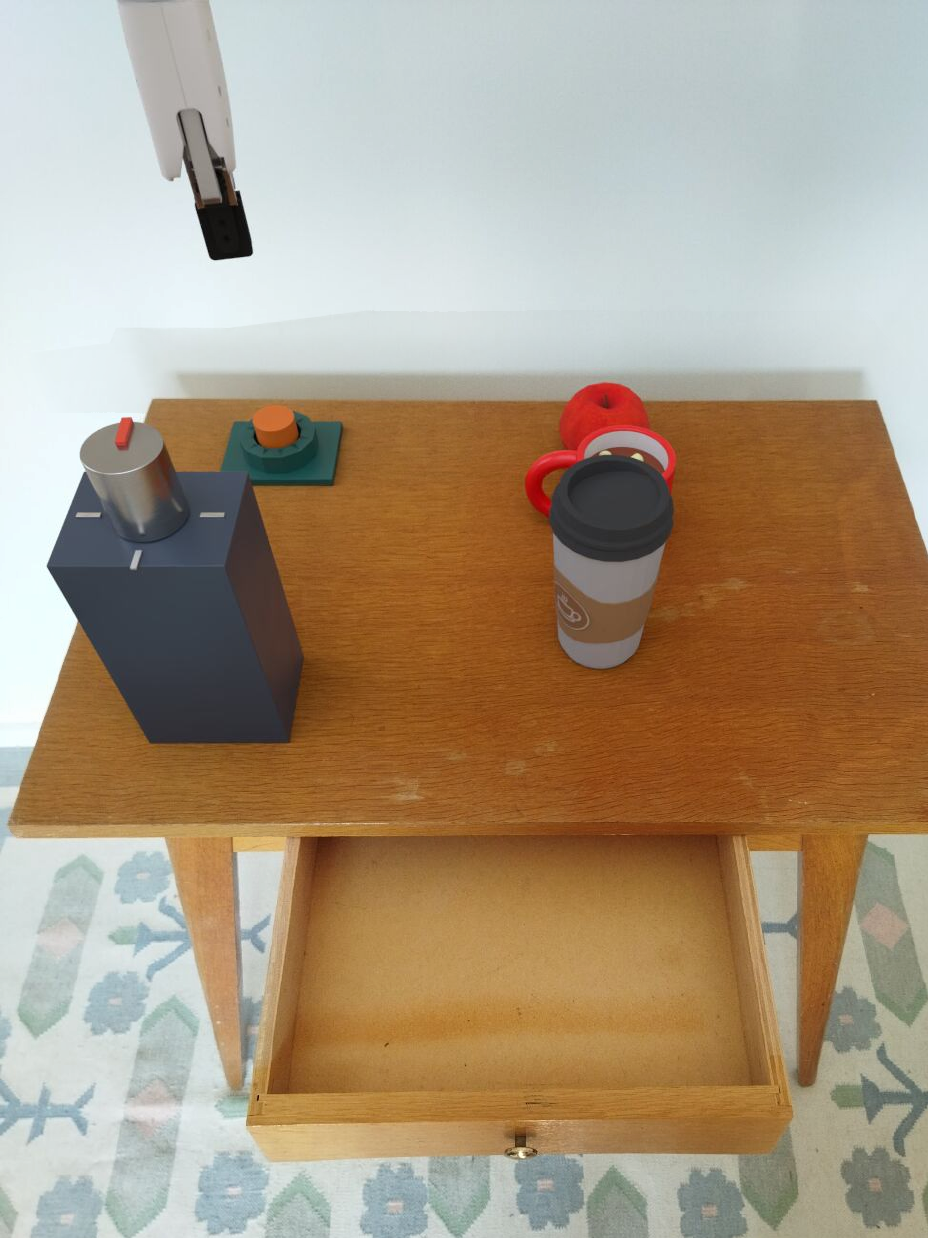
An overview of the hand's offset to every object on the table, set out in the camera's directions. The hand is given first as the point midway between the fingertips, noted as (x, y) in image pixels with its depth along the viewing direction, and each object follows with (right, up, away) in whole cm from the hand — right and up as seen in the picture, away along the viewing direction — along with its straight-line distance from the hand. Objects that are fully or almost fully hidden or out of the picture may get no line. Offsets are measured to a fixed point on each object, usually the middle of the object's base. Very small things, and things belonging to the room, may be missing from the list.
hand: (231, 252), depth 71 cm
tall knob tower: (0, -33, 0) cm, 33 cm away
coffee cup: (+28, -29, +3) cm, 40 cm away
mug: (+28, -19, +10) cm, 35 cm away
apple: (+29, -12, +15) cm, 35 cm away
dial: (0, -23, -15) cm, 27 cm away
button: (0, -10, +14) cm, 17 cm away
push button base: (0, -11, +15) cm, 19 cm away
